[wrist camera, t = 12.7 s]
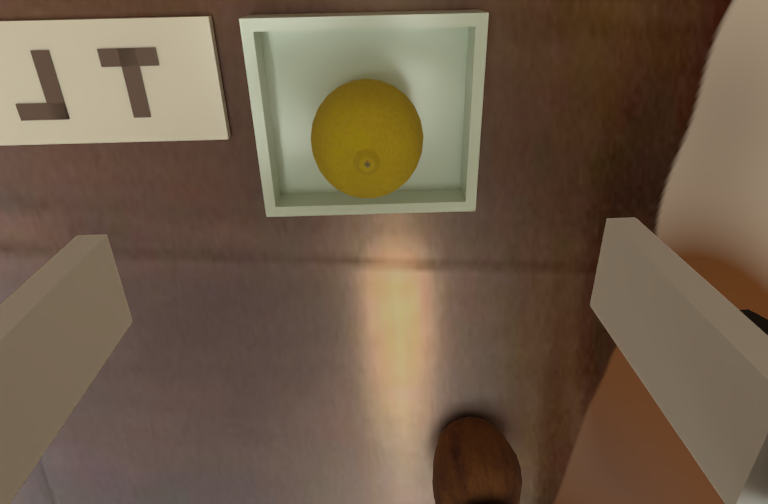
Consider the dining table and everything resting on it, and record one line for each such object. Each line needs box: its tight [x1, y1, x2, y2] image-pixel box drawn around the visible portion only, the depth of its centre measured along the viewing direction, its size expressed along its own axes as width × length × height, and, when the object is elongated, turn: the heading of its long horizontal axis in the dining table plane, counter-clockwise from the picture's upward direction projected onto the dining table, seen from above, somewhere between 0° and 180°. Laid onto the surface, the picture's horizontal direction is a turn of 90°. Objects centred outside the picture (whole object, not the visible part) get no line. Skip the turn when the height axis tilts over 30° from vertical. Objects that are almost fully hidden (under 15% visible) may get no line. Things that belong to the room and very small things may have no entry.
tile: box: [0, 16, 231, 145], centre depth 28 cm, size 14×6×1 cm, turn 91°
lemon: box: [311, 79, 424, 198], centre depth 26 cm, size 6×6×8 cm
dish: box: [239, 9, 489, 217], centre depth 29 cm, size 12×10×3 cm
